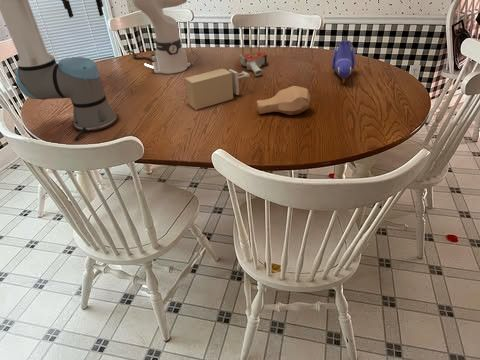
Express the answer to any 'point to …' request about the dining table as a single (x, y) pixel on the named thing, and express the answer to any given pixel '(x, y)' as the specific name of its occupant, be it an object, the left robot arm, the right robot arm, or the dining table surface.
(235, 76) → the drawer
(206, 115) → the dining table surface
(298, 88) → the squash
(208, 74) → the beige rectangular block
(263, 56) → the grey and red gadget
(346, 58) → the toy
